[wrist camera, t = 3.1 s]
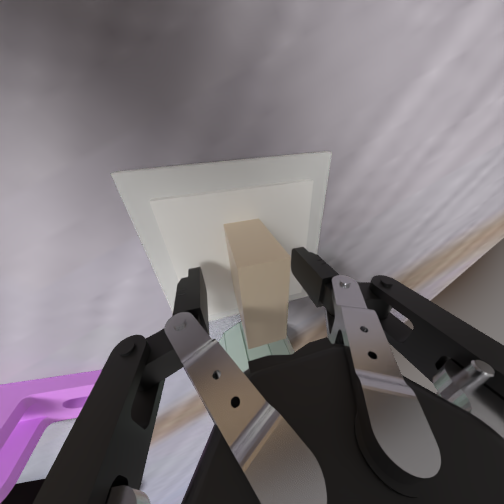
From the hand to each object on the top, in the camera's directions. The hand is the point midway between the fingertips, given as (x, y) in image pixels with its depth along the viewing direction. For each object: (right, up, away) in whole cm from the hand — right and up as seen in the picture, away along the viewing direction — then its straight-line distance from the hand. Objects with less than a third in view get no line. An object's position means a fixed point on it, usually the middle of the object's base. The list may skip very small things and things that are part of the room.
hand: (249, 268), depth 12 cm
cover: (0, +1, +1) cm, 2 cm away
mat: (-1, +1, +2) cm, 3 cm away
